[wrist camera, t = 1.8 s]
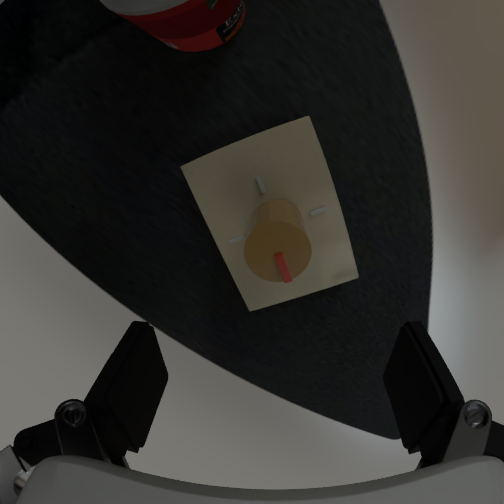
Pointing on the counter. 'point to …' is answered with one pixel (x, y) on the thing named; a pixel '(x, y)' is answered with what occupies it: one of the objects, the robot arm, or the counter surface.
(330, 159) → the counter surface
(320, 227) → the plate
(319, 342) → the counter surface
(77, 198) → the counter surface
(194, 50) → the canned food
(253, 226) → the tap handle
